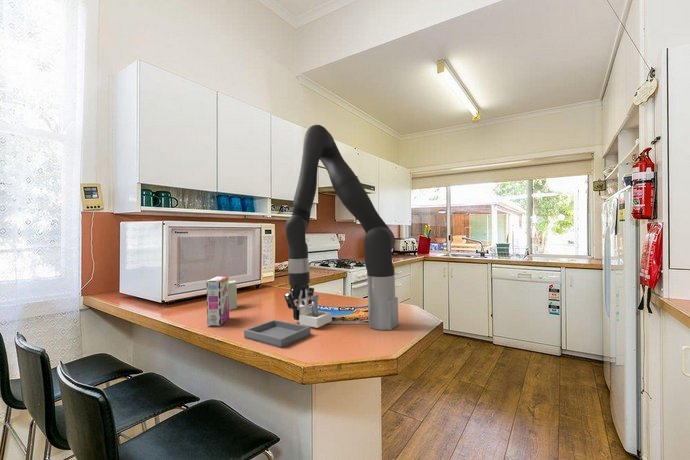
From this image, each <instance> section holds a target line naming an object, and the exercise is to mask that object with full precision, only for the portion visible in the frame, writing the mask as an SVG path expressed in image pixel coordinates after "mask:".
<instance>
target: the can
mask: <svg viewBox="0 0 690 460" xmlns="http://www.w3.org/2000/svg"><path fill="white" fill-rule="evenodd" d="M228 280H229V279H228ZM228 282H229V311H233V310H236V309H237V308H238V297H237V295H238V293H237V280H233V279H230V280H229V281H228Z"/></svg>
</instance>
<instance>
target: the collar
mask: <svg viewBox="0 0 690 460" xmlns="http://www.w3.org/2000/svg"><path fill="white" fill-rule="evenodd" d="M299 313H300V316H299V320H294V322H298V323H299V324H298V325H303V326H308V327H310V328H320V327H322V326H324V325H326V324H329V323H331V322H333V318H332V315H333V314H332V312H328V311H322V310H318V317H312V305H311V306H310V305H308V306H306V305H301V304H300V306H299Z"/></svg>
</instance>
